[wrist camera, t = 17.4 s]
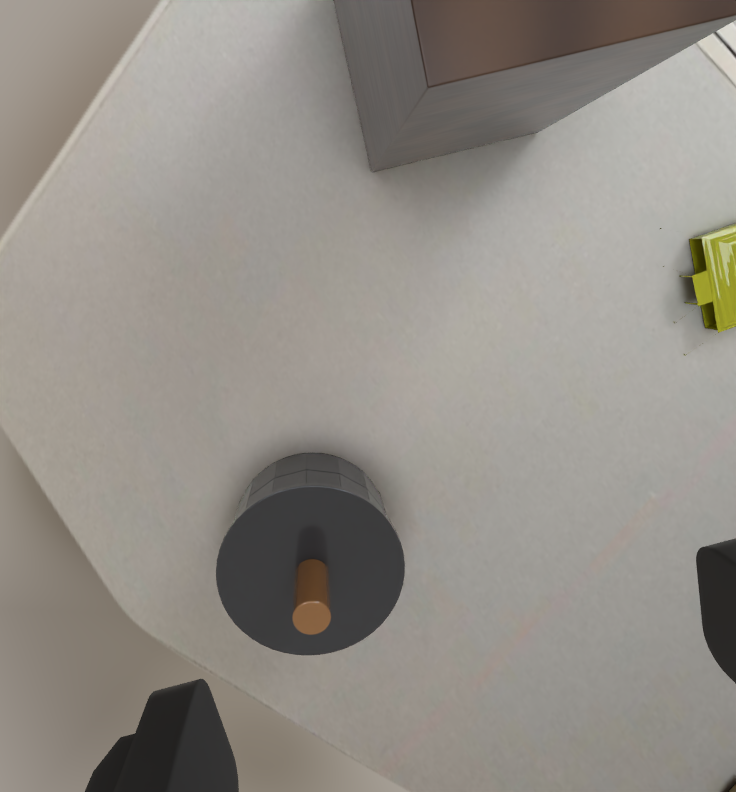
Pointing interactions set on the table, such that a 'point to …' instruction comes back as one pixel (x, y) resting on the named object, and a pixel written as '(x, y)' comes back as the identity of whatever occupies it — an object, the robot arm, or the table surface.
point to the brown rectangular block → (499, 64)
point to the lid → (310, 569)
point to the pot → (310, 477)
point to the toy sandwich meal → (733, 789)
